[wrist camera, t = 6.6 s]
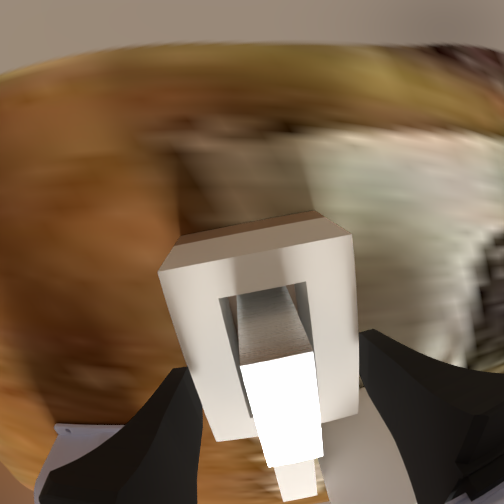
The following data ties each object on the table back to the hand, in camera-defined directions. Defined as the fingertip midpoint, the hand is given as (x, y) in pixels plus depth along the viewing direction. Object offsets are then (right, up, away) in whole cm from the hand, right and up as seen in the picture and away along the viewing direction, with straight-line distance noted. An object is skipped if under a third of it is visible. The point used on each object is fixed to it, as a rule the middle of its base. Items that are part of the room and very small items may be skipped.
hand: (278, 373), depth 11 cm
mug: (+9, -8, +10) cm, 16 cm away
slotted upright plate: (0, -3, +8) cm, 8 cm away
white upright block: (0, +1, +4) cm, 4 cm away
